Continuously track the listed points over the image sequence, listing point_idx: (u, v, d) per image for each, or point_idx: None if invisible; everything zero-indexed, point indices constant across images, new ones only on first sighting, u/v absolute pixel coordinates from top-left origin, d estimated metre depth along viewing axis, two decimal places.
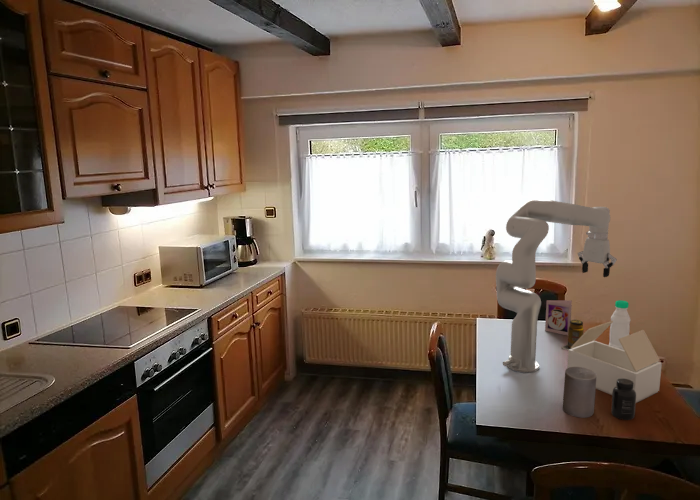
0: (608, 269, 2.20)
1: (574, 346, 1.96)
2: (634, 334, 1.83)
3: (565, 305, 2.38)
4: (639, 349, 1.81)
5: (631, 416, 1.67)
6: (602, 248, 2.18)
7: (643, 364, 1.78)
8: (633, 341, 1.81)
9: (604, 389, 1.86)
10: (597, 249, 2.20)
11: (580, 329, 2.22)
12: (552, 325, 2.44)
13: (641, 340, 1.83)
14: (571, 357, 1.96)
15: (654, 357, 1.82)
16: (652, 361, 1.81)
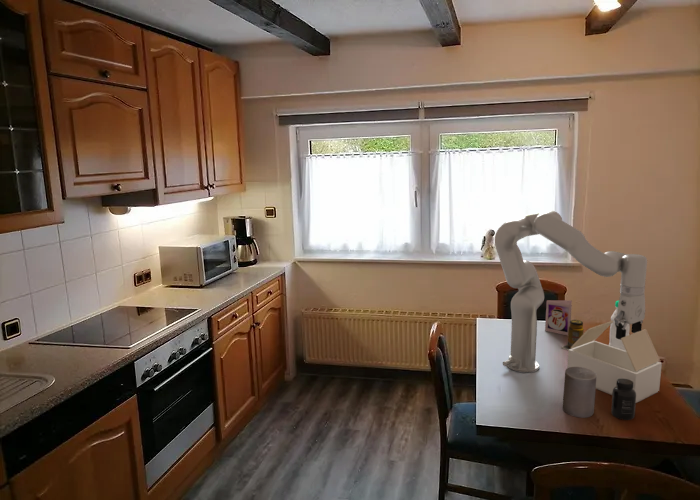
0: None
1: (574, 346, 1.96)
2: (636, 333, 1.82)
3: (565, 305, 2.38)
4: (640, 349, 1.80)
5: (631, 416, 1.67)
6: (644, 302, 1.81)
7: (643, 364, 1.78)
8: (635, 341, 1.81)
9: (604, 389, 1.86)
10: (641, 305, 1.80)
11: (580, 329, 2.22)
12: (552, 325, 2.44)
13: (643, 340, 1.83)
14: (571, 357, 1.96)
15: (654, 357, 1.82)
16: (652, 361, 1.81)
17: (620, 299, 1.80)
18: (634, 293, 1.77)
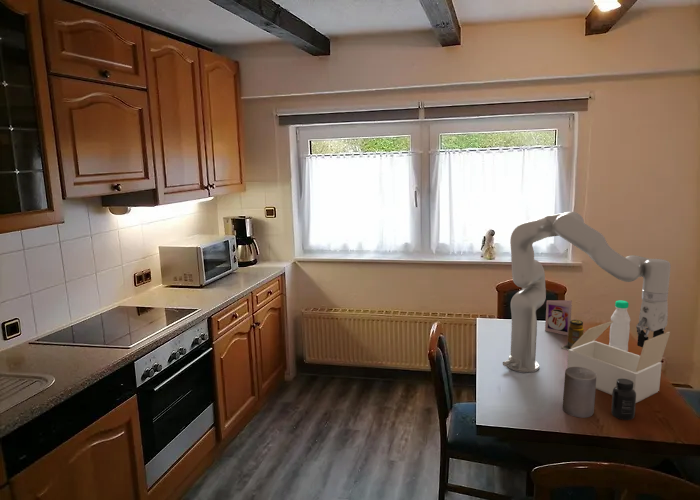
0: None
1: (574, 346, 1.96)
2: (660, 337, 1.76)
3: (565, 305, 2.38)
4: (653, 351, 1.77)
5: (631, 416, 1.67)
6: (667, 308, 1.75)
7: (646, 365, 1.77)
8: (654, 344, 1.75)
9: (604, 389, 1.86)
10: (664, 312, 1.74)
11: (580, 329, 2.22)
12: (552, 325, 2.44)
13: (661, 342, 1.77)
14: (571, 357, 1.96)
15: (659, 358, 1.81)
16: (654, 362, 1.80)
17: (642, 305, 1.74)
18: (657, 299, 1.71)
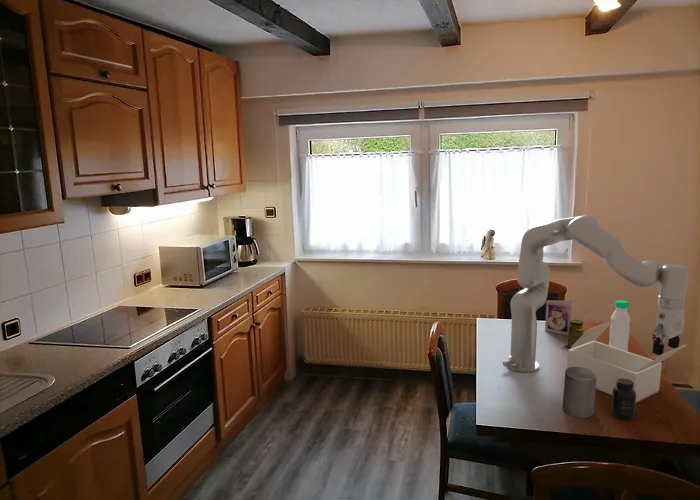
0: None
1: (574, 346, 1.96)
2: (676, 349, 1.72)
3: (565, 305, 2.38)
4: (662, 358, 1.74)
5: (631, 416, 1.67)
6: None
7: (648, 367, 1.77)
8: (668, 354, 1.72)
9: (604, 389, 1.86)
10: (681, 318, 1.70)
11: (580, 329, 2.22)
12: (552, 325, 2.44)
13: (673, 352, 1.74)
14: (571, 357, 1.96)
15: (661, 360, 1.80)
16: (656, 363, 1.80)
17: (658, 312, 1.69)
18: (674, 306, 1.66)
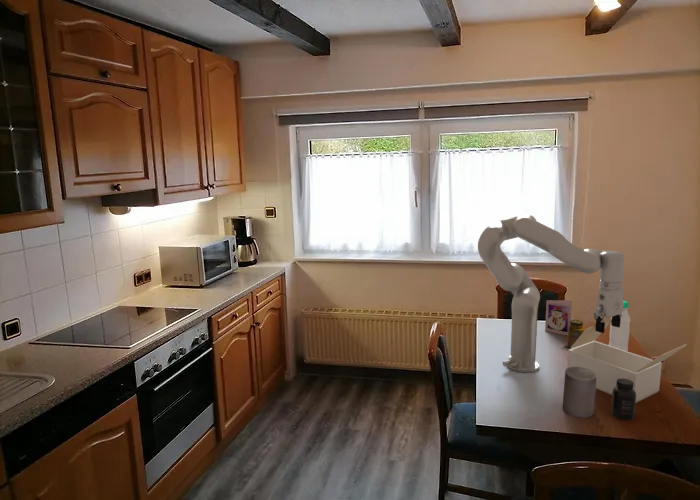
0: None
1: (574, 346, 1.96)
2: (676, 349, 1.72)
3: (565, 305, 2.38)
4: (662, 358, 1.74)
5: (631, 416, 1.67)
6: None
7: (648, 367, 1.77)
8: (668, 354, 1.72)
9: (604, 389, 1.86)
10: (620, 299, 1.89)
11: (580, 329, 2.22)
12: (552, 325, 2.44)
13: (673, 352, 1.74)
14: (571, 357, 1.96)
15: (661, 361, 1.80)
16: (656, 363, 1.80)
17: (599, 293, 1.89)
18: (612, 288, 1.86)
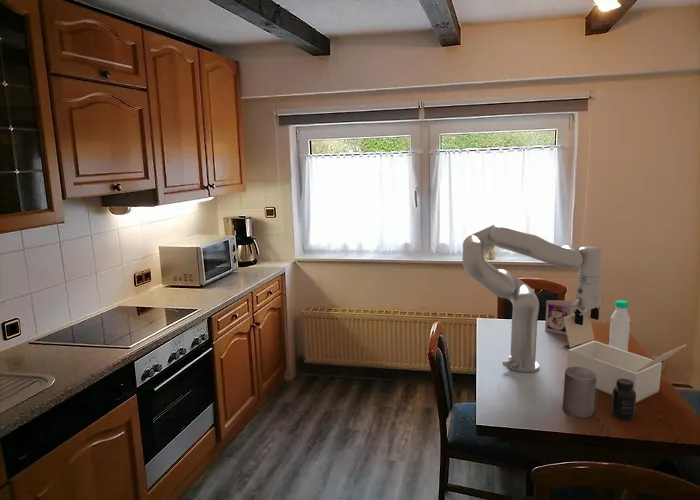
0: None
1: (571, 344, 1.97)
2: (676, 349, 1.72)
3: (565, 305, 2.38)
4: (662, 358, 1.74)
5: (631, 416, 1.67)
6: (600, 290, 1.98)
7: (648, 367, 1.77)
8: (668, 354, 1.72)
9: (604, 389, 1.86)
10: (597, 293, 1.97)
11: None
12: (552, 325, 2.44)
13: (673, 352, 1.74)
14: (571, 357, 1.96)
15: (661, 361, 1.80)
16: (656, 363, 1.80)
17: (578, 287, 1.97)
18: (590, 282, 1.94)
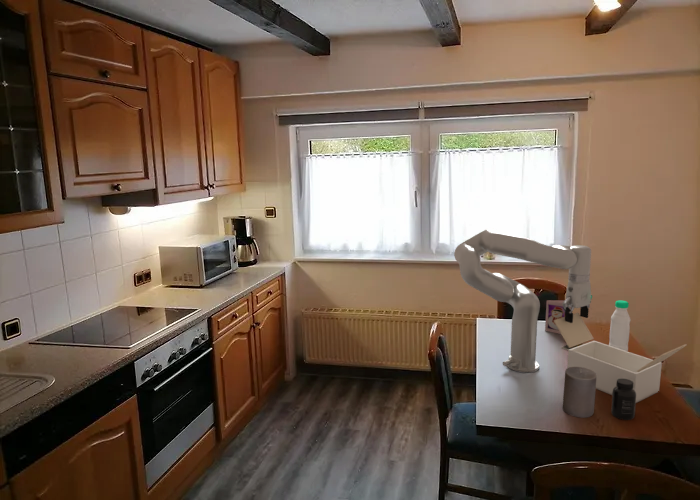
0: None
1: (570, 344, 1.97)
2: (676, 349, 1.72)
3: None
4: (662, 358, 1.74)
5: (631, 416, 1.67)
6: (590, 288, 2.02)
7: (648, 367, 1.77)
8: (668, 354, 1.72)
9: (604, 389, 1.86)
10: (587, 291, 2.01)
11: None
12: (552, 325, 2.44)
13: (673, 352, 1.74)
14: (571, 357, 1.96)
15: (661, 361, 1.80)
16: (656, 363, 1.80)
17: (568, 286, 2.00)
18: (580, 280, 1.98)
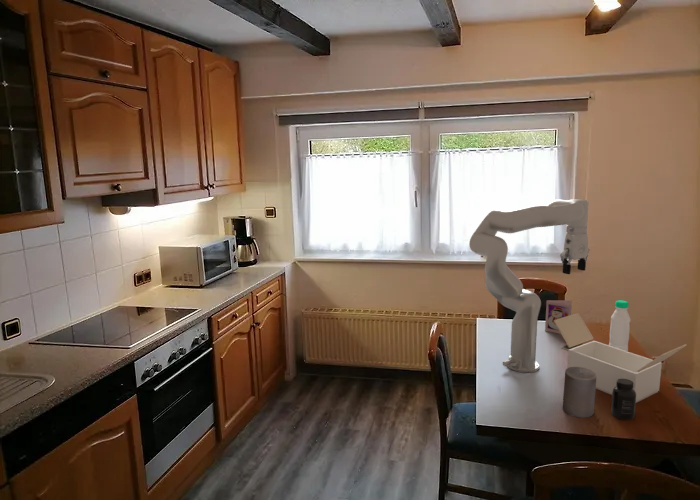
0: None
1: (570, 344, 1.97)
2: (676, 349, 1.72)
3: (565, 305, 2.38)
4: (662, 358, 1.74)
5: (631, 416, 1.67)
6: (587, 241, 2.08)
7: (648, 367, 1.77)
8: (668, 354, 1.72)
9: (604, 389, 1.86)
10: (584, 243, 2.07)
11: None
12: (552, 325, 2.44)
13: (673, 352, 1.74)
14: (571, 357, 1.96)
15: (661, 361, 1.80)
16: (656, 363, 1.80)
17: (566, 238, 2.06)
18: (577, 232, 2.04)
